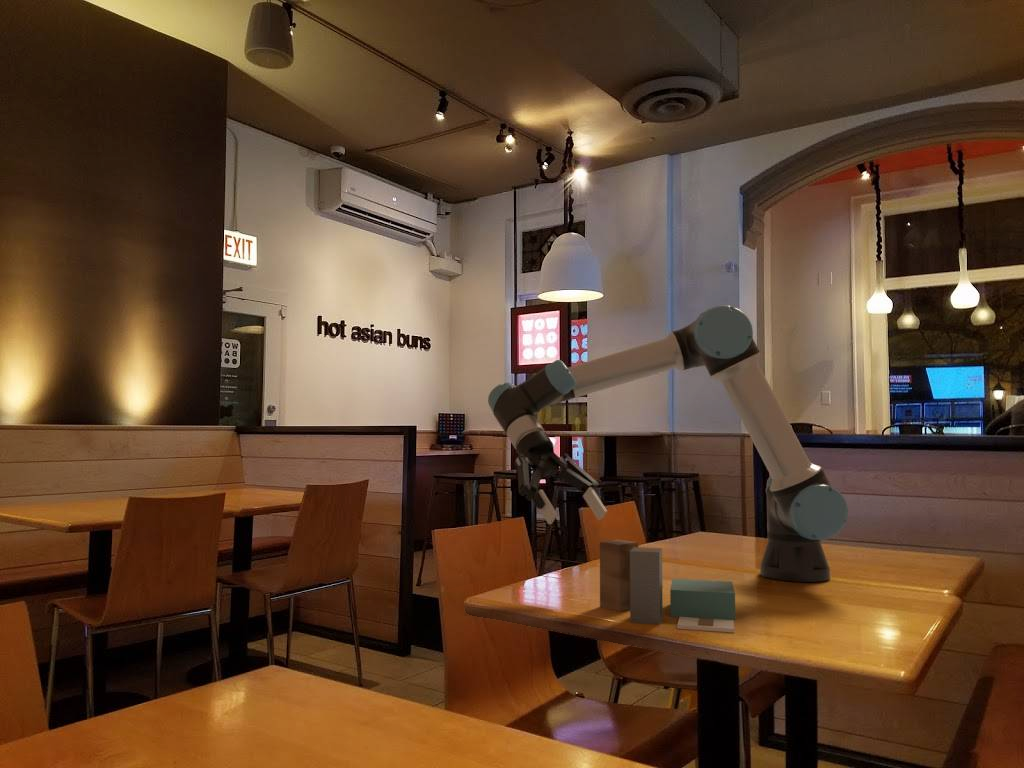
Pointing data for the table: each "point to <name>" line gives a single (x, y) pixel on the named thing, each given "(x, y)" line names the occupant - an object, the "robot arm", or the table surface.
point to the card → (706, 624)
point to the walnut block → (615, 574)
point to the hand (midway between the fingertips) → (578, 517)
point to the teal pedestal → (702, 599)
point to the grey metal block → (646, 585)
